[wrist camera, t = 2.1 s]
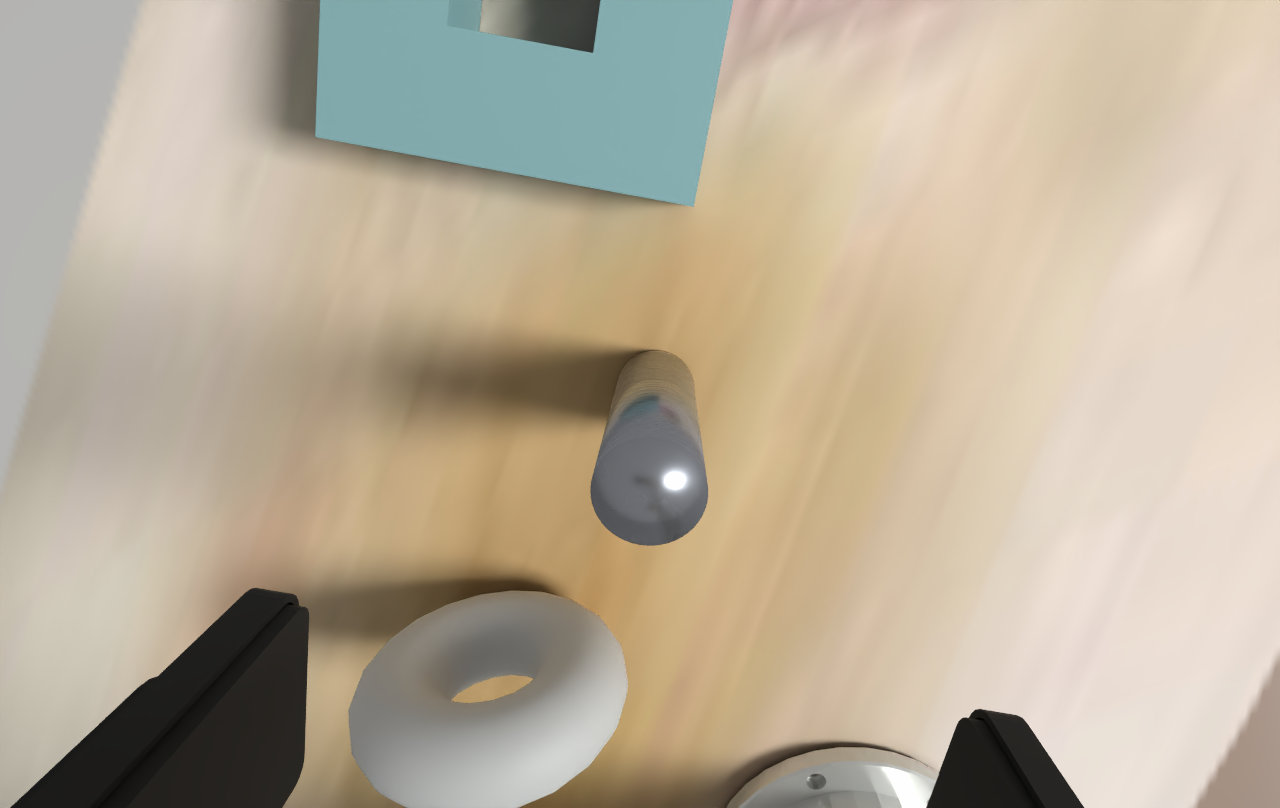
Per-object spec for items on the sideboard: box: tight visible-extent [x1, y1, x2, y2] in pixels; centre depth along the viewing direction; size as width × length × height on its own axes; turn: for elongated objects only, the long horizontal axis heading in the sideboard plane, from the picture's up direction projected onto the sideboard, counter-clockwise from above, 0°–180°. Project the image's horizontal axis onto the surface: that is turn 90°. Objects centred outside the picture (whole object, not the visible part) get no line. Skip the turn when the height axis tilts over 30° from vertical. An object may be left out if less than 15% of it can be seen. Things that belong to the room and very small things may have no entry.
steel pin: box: [591, 350, 708, 545], centre depth 23 cm, size 3×3×10 cm
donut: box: [349, 590, 628, 808], centre depth 26 cm, size 10×4×10 cm, turn 94°
